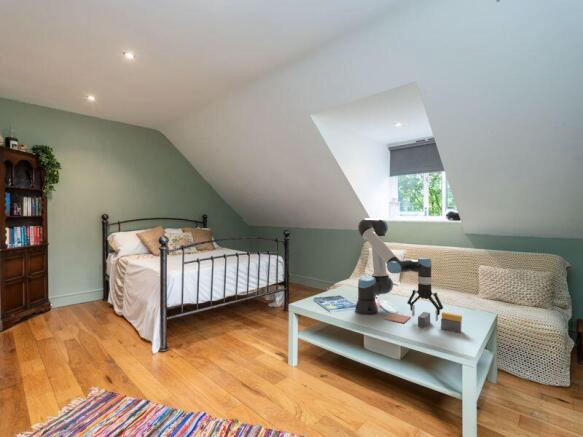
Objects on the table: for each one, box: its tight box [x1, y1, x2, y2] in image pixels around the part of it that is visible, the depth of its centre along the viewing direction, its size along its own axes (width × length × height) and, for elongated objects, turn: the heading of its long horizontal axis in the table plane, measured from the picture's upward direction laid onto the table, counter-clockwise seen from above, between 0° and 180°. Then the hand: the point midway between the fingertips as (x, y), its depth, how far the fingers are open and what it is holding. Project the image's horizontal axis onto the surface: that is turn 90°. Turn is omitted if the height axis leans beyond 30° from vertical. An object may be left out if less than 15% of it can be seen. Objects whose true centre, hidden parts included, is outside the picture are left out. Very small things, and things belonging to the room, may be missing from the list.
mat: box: [384, 312, 412, 324], centre depth 198 cm, size 12×14×1 cm
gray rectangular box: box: [440, 317, 463, 334], centre depth 178 cm, size 10×4×6 cm, turn 52°
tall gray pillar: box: [417, 311, 431, 328], centre depth 188 cm, size 4×12×6 cm, turn 142°
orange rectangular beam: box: [441, 311, 463, 322], centre depth 178 cm, size 10×3×3 cm, turn 52°
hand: (424, 318), depth 187 cm, fingers open, 13 cm apart
